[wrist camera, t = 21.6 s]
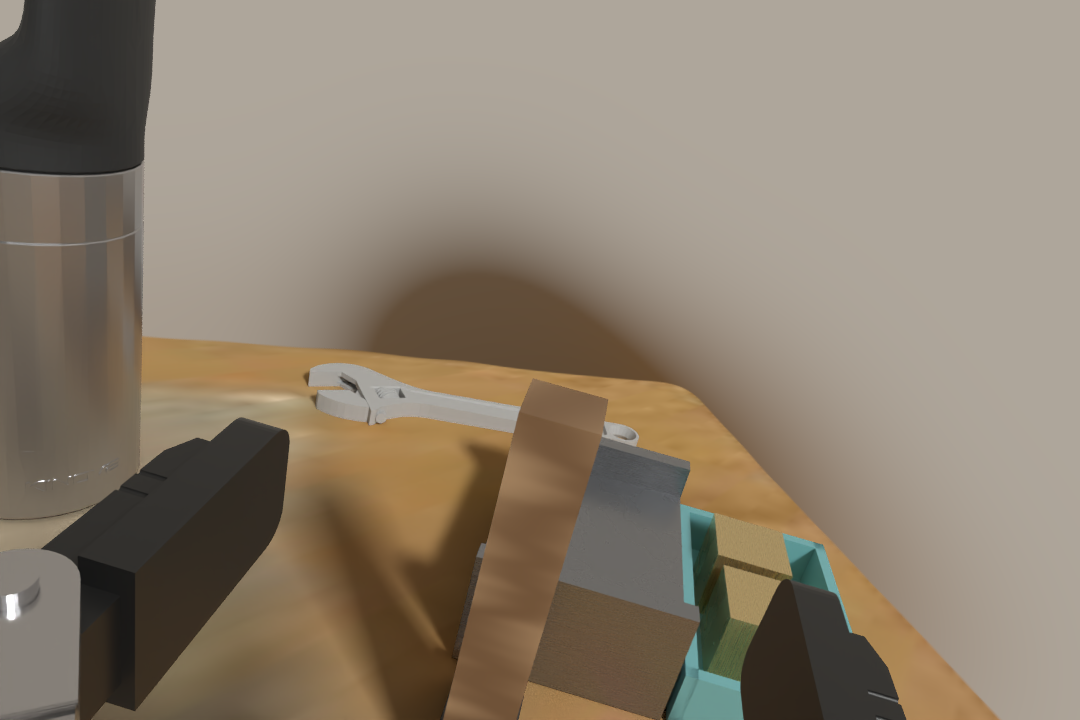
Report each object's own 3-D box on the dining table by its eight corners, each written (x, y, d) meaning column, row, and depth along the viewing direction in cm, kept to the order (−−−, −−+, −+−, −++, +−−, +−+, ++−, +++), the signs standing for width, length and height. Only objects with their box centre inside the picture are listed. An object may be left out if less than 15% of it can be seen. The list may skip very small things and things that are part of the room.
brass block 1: (718, 554, 39) (792, 576, 39) (714, 512, 43) (782, 532, 42) (695, 611, 41) (766, 633, 40) (693, 566, 44) (758, 586, 44)
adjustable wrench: (631, 443, 59) (637, 424, 58) (640, 488, 53) (647, 467, 52) (320, 375, 57) (322, 355, 56) (293, 414, 51) (296, 392, 50)
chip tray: (666, 722, 34) (685, 675, 33) (665, 542, 47) (679, 503, 46) (859, 781, 33) (886, 735, 32) (805, 582, 46) (823, 544, 45)
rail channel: (451, 657, 34) (476, 556, 32) (509, 497, 47) (530, 416, 45) (659, 720, 34) (700, 622, 32) (660, 541, 47) (689, 461, 44)
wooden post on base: (388, 882, 25) (486, 464, 18) (456, 680, 33) (541, 341, 27) (472, 909, 25) (601, 497, 18) (520, 699, 33) (621, 363, 27)
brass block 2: (730, 617, 35) (814, 641, 34) (723, 564, 38) (799, 586, 38) (704, 679, 36) (783, 702, 36) (699, 622, 40) (772, 643, 40)
